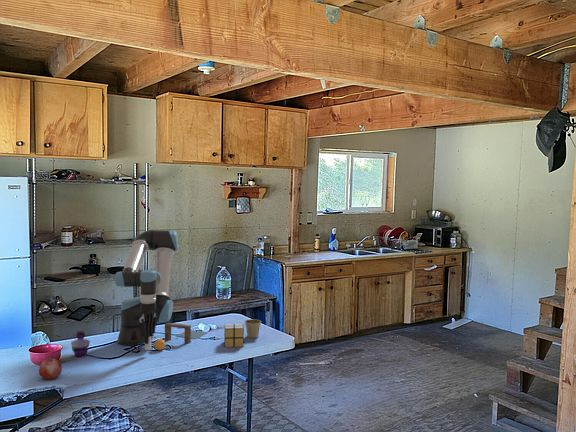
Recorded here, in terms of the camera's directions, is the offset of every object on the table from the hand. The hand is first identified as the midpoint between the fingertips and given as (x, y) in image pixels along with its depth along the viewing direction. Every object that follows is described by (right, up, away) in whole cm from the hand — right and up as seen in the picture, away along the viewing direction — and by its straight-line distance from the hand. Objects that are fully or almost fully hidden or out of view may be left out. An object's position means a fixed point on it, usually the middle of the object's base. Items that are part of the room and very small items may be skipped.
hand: (148, 349), depth 250 cm
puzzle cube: (+40, -3, +21) cm, 45 cm away
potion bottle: (-33, -3, -1) cm, 33 cm away
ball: (+3, 0, +9) cm, 10 cm away
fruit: (-34, -4, -31) cm, 46 cm away
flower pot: (+49, -2, +35) cm, 61 cm away
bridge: (+9, -2, +24) cm, 26 cm away
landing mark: (+14, -1, +37) cm, 40 cm away
